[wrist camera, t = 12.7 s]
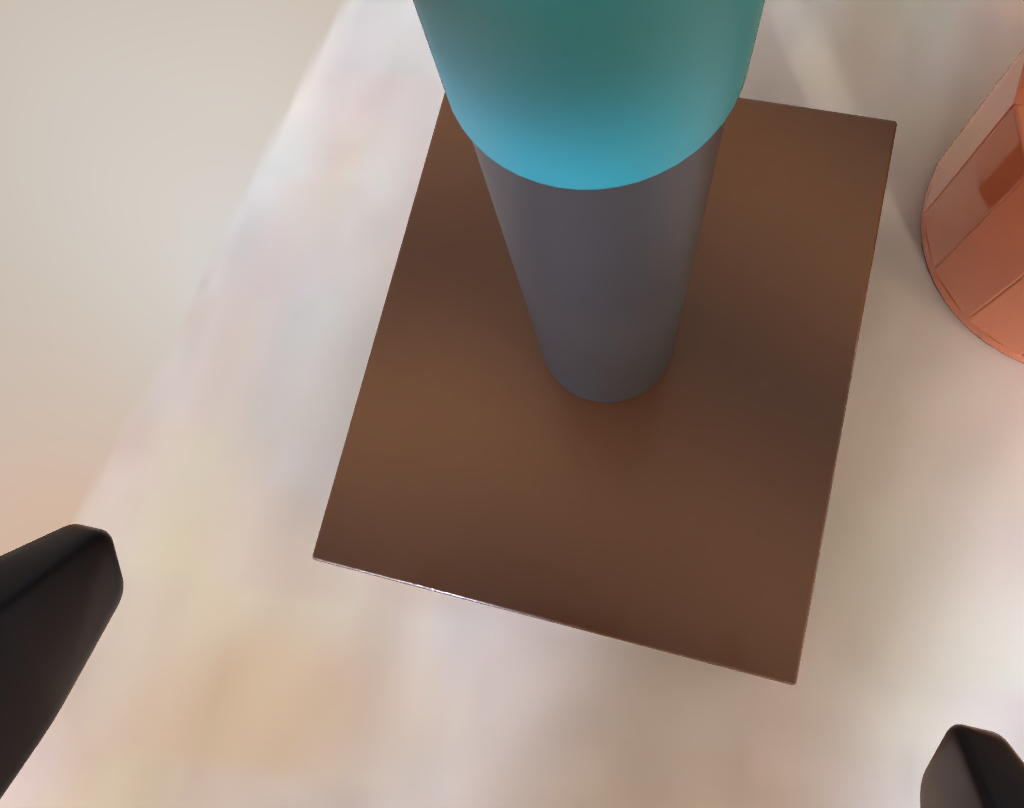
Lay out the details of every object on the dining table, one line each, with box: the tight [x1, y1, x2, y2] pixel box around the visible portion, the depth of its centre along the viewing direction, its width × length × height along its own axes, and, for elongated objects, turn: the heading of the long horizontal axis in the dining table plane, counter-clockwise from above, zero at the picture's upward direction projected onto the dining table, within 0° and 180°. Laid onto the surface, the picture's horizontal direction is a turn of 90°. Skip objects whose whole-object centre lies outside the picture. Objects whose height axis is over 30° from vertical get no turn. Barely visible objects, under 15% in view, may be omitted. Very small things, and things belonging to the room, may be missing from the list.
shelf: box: [313, 93, 897, 685], centre depth 20 cm, size 12×10×4 cm
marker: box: [413, 0, 765, 403], centre depth 12 cm, size 3×3×13 cm
